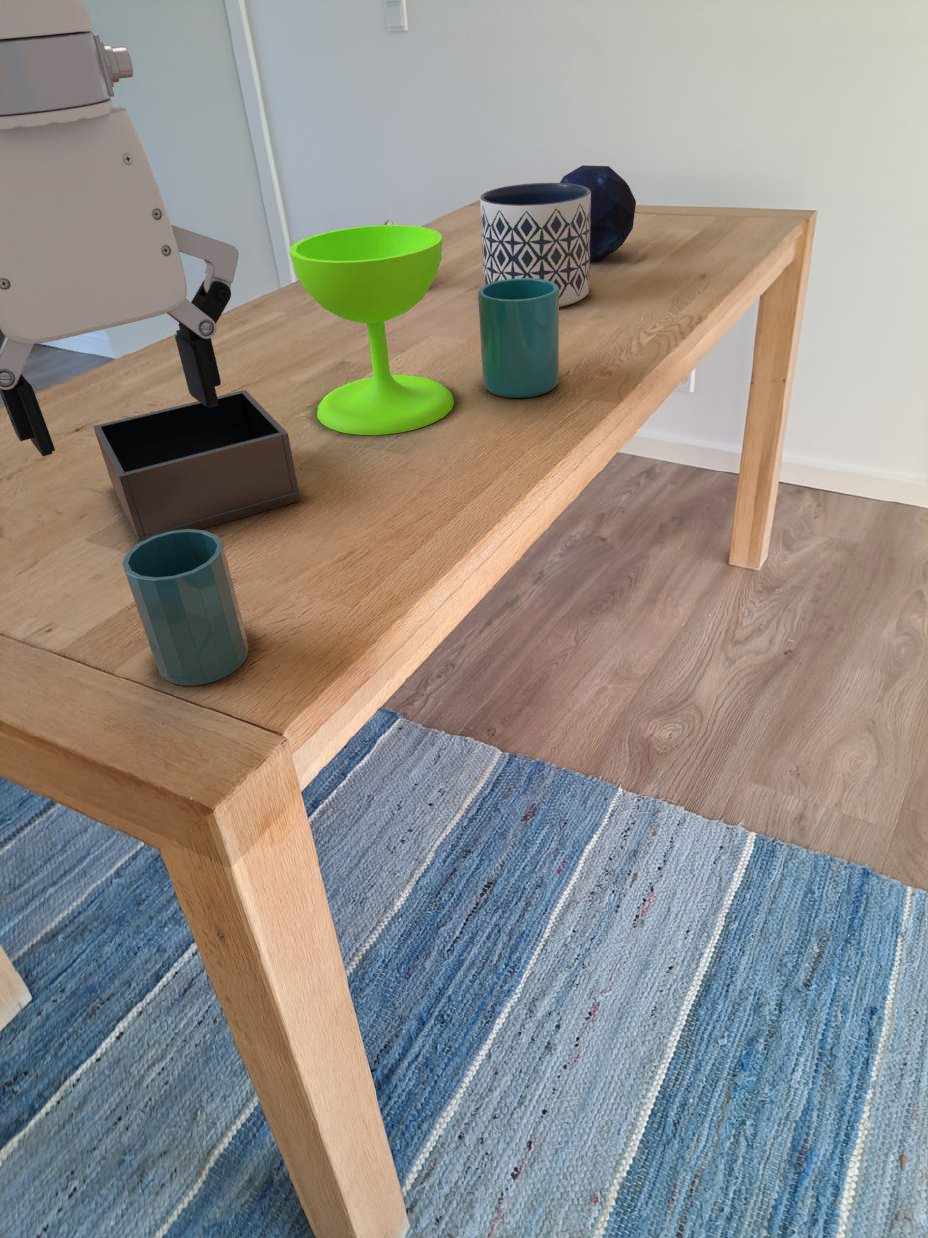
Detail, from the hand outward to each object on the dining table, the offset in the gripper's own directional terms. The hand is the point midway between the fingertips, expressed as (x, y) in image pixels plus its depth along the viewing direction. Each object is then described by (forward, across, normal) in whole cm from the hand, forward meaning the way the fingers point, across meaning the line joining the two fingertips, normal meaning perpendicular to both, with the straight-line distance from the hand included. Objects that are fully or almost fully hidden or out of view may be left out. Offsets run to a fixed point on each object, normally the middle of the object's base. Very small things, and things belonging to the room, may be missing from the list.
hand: (127, 423), depth 52 cm
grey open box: (+20, -11, -28) cm, 35 cm away
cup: (+20, -52, -30) cm, 63 cm away
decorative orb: (+20, -96, -67) cm, 119 cm away
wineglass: (+20, -36, -35) cm, 54 cm away
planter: (+20, -76, -56) cm, 96 cm away
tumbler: (+20, -1, -2) cm, 20 cm away
